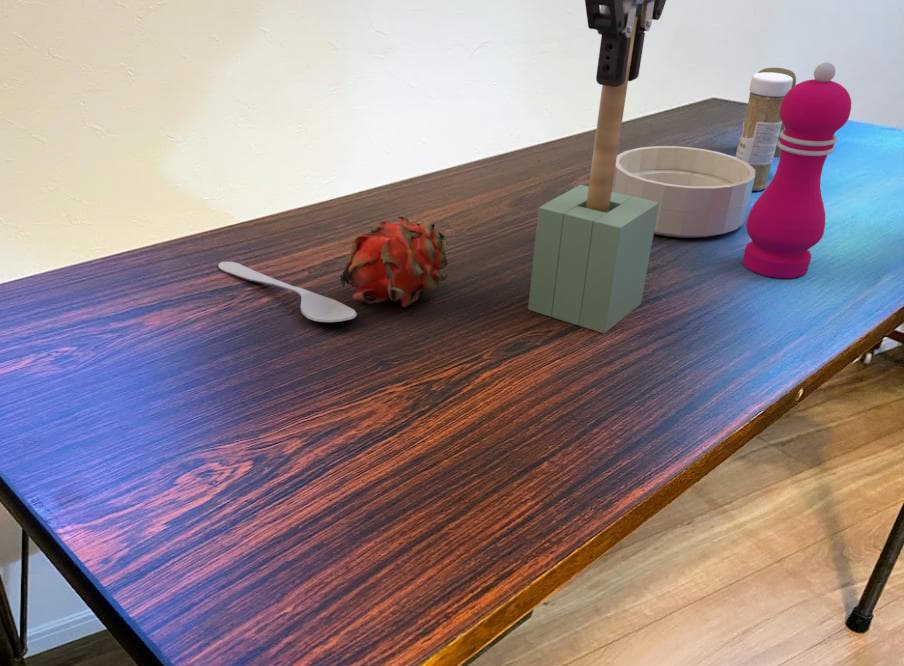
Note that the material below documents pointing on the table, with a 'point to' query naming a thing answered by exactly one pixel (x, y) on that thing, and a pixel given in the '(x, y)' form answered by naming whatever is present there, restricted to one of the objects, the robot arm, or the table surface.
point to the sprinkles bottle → (762, 123)
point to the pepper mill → (797, 179)
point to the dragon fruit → (396, 262)
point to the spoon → (310, 302)
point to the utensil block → (591, 258)
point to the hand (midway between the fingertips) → (617, 81)
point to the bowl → (687, 188)
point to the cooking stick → (607, 141)
